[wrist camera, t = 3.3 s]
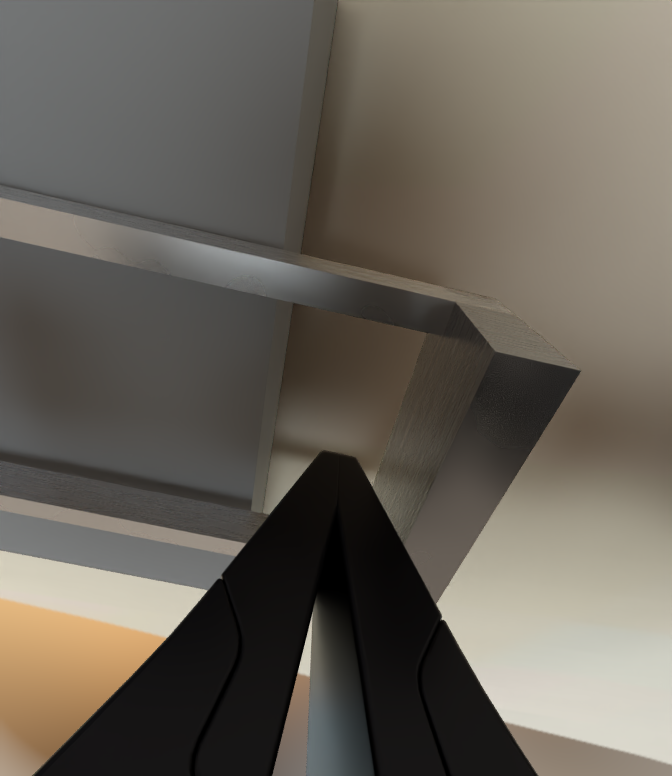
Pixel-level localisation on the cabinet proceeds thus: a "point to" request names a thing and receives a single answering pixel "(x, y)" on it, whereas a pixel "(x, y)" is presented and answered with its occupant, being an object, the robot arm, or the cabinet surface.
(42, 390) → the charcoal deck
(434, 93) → the cabinet surface
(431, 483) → the silver flat rectangular frame
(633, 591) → the cabinet surface
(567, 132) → the cabinet surface
